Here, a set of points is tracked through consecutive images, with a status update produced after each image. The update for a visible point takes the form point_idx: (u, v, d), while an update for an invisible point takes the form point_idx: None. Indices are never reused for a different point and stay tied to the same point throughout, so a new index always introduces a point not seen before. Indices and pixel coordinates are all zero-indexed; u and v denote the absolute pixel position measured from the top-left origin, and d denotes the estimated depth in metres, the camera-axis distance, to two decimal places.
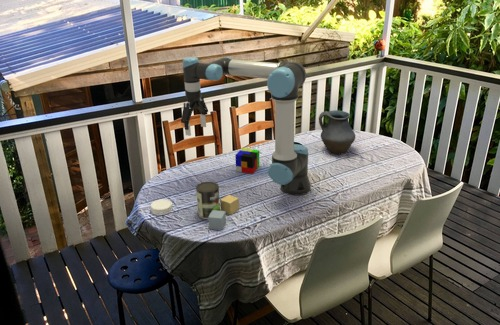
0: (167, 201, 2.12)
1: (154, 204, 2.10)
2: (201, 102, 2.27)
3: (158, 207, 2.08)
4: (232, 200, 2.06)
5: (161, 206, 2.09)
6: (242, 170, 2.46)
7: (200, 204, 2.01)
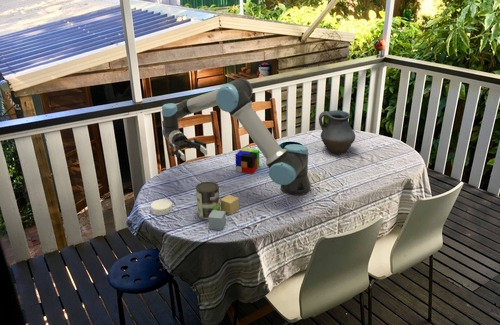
0: (167, 201, 2.12)
1: (154, 204, 2.10)
2: (195, 142, 2.20)
3: (158, 207, 2.08)
4: (232, 200, 2.06)
5: (161, 206, 2.09)
6: (242, 170, 2.46)
7: (200, 204, 2.01)
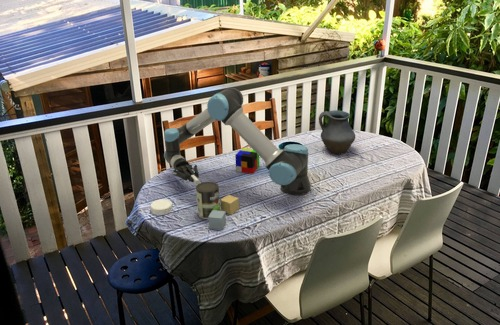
0: (167, 201, 2.12)
1: (154, 204, 2.10)
2: (194, 169, 2.24)
3: (158, 207, 2.08)
4: (232, 200, 2.06)
5: (161, 206, 2.09)
6: (242, 170, 2.46)
7: (200, 204, 2.01)
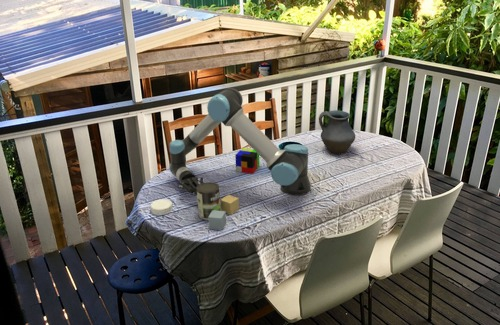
0: (167, 201, 2.12)
1: (154, 204, 2.10)
2: (200, 182, 2.21)
3: (158, 207, 2.08)
4: (232, 200, 2.06)
5: (161, 206, 2.09)
6: (242, 170, 2.46)
7: (200, 205, 2.01)
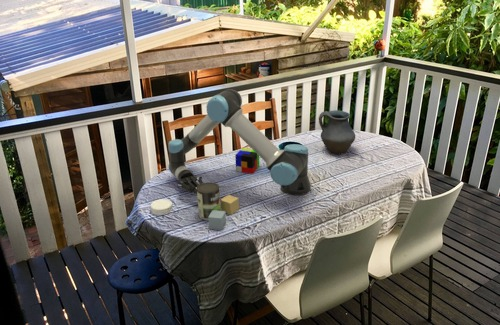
0: (167, 201, 2.12)
1: (154, 204, 2.10)
2: (199, 181, 2.23)
3: (158, 207, 2.08)
4: (232, 200, 2.06)
5: (161, 206, 2.09)
6: (242, 170, 2.46)
7: (201, 205, 2.01)
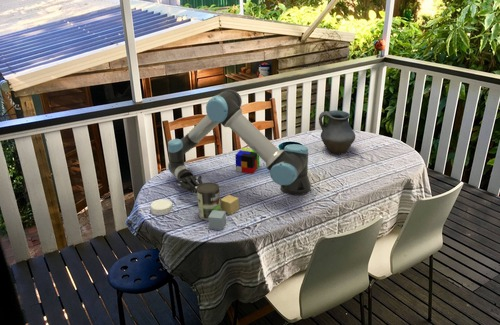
0: (167, 201, 2.12)
1: (154, 204, 2.10)
2: (198, 180, 2.23)
3: (158, 207, 2.08)
4: (232, 200, 2.06)
5: (161, 206, 2.09)
6: (242, 170, 2.46)
7: (201, 205, 2.01)
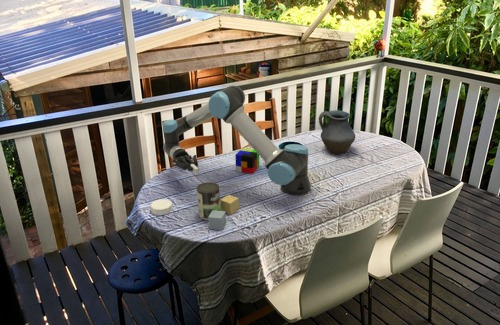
0: (167, 201, 2.12)
1: (154, 204, 2.10)
2: (193, 159, 2.25)
3: (158, 207, 2.08)
4: (232, 200, 2.06)
5: (161, 206, 2.09)
6: (242, 170, 2.46)
7: (201, 205, 2.01)
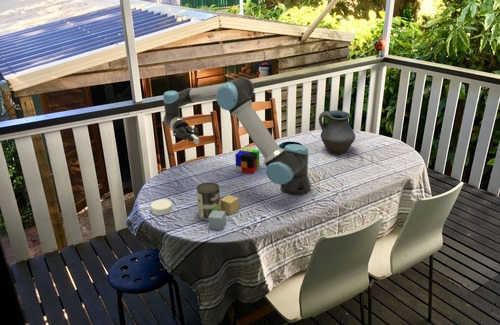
0: (167, 201, 2.12)
1: (154, 204, 2.10)
2: (194, 130, 2.22)
3: (158, 207, 2.08)
4: (232, 200, 2.06)
5: (161, 206, 2.09)
6: (242, 170, 2.46)
7: (201, 205, 2.01)
